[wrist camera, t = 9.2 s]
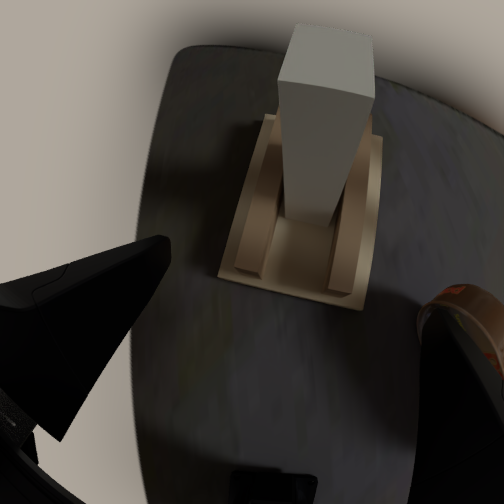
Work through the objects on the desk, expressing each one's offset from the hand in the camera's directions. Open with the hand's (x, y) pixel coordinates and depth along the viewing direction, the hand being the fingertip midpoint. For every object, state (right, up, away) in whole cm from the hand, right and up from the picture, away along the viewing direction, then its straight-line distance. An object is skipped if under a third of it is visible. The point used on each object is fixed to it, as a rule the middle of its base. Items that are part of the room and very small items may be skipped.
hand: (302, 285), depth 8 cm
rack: (+3, +5, +12) cm, 13 cm away
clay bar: (+3, +5, +11) cm, 13 cm away
